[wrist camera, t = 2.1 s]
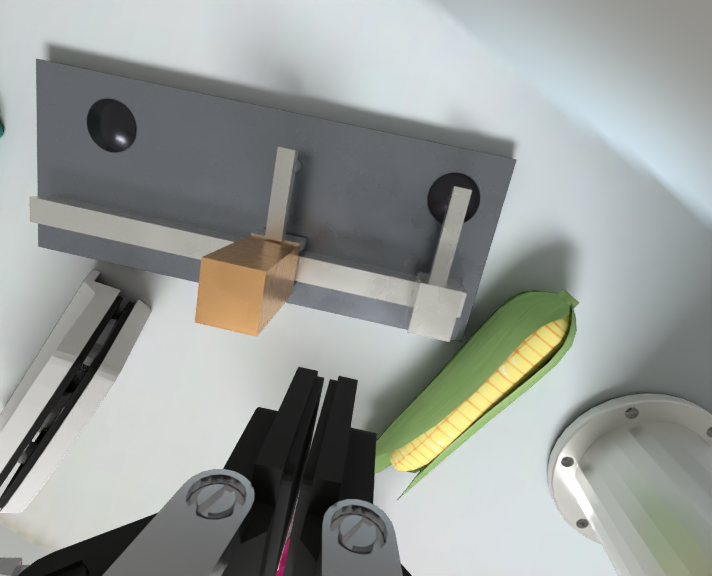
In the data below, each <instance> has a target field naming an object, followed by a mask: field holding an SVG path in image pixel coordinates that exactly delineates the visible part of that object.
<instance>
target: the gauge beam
mask: <svg viewBox="0 0 712 576" xmlns="http://www.w3.org/2000/svg"><path fill="white" fill-rule="evenodd" d="M471 193H472V190H470V189H465V188H461V187H456V186H452V190H451V194H450V195H449V196H448V197H447V202H448V205H447V209H446V213H445V217H444V220H443V224H442V228H441V232H440V236H439V239H438V243H437V247H436V251H435V255H434V258H433V262H432V266H431V270H430V274H428V273H424V272H419V271H418V274H417V276H416V275H412V274H407V273H403V272H398V271H394V270H389V269H384V268H380V267H375V266H371V265H366V264H362V263H357V262H353V261H348V260H344V259H339V258H335V257H330V256H326V255H321V254H317V253H312V252H308V251H303V250H302V251H300V252H299V256H298V262H297V268H296V274H295V280H294V281H298V282H302V283H307V284H311V285H316V286H320V287H325V288H329V289H334V290H338V291H343V292H347V293H352V294H356V295H361V296H365V297H369V298H374V299H378V300H383V301H387V302H392V303H396V304H401V305H405V306H409V309H408V313H407V330H408V333H411V334H416V335H420V336H424V337H429V338H433V339H438V340H442V341H447V342H450V338H451V335H452V331H453V328H454V324H455V321H456V318H457V317H459V318H460V315H461V312H462V309H463V305H464V302H465V298H466V295H467V293H466V291H465V289H464V288H463V286H461V285H460V284H459V283H458V281H457V280H455V279H451V278H448V276H449V272H450V269H451V265H452V262H453V258H454V254H455V251H456V247H457V243H458V240H459V236H460V233H461V229H462V225H463V222H464V218H465V214H466V211H467V207H468V204H469V200H470V196H471ZM30 222H34V223H39V224H43V225H48V226H52V227H57V228H61V229H66V230H70V231H74V232H79V233H83V234H88V235H92V236H97V237H101V238H106V239H110V240H115V241H119V242H124V243H128V244H133V245H137V246H142V247H146V248H150V249H155V250H159V251H164V252H168V253H173V254H177V255H182V256H186V257H191V258H195V259H200V260H201V258H202V257H203V256H205V255H207V254H210V253H212V252H214V251H216V250H218V249H221V248H223V247H225V246H227V245H229V244H232V243H234V242H236V241H238V240H241V239H243V238H244V237H240V236H235V235H231V234H226V233H222V232H217V231H213V230H208V229H204V228H199V227H195V226H190V225H186V224H181V223H176V222H172V221H167V220H163V219H158V218H154V217H149V216H145V215H140V214H136V213H131V212H127V211H122V210H118V209H113V208H109V207H104V206H100V205H95V204H91V203H86V202H82V201H77V200H73V199H68V198H63V197H59V196H54V195H45V196H32V197H30Z"/></svg>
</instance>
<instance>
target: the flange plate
mask: <svg viewBox="0 0 712 576" xmlns="http://www.w3.org/2000/svg"><path fill="white" fill-rule="evenodd" d="M36 85H37V168H38V196H45V195H54V196H59V197H63V198H68V199H73V200H77V201H82V202H86V203H91V204H95V205H100V206H104V207H109V208H113V209H118V210H122V211H127V212H131V213H136V214H140V215H145V216H149V217H154V218H158V219H163V220H167V221H172V222H176V223H181V224H186V225H190V226H195V227H199V228H204V229H208V230H213V231H217V232H222V233H226V234H231V235H235V236H240V237H244V238H245V237H247V236H249V235H251V233H253V232H255V231H257V230H259V229H266V225H267V218H268V211H269V204H270V197H271V190H272V183H273V177H274V170H275V163H276V156H277V149H278V147H282V148H287V149H291V150H296V151H298V158H297V160H299V161H300V163H301V169H300V170H299V171H298V172H295V177H294V183H293V190H292V196H291V202H290V209H289V215H288V221H287V228H286V234H289V235H293V236H298V237H303V238H307V240H306V246H305V248H304V249H303V251H308V252H312V253H317V254H321V255H326V256H330V257H335V258H339V259H344V260H348V261H353V262H357V263H362V264H366V265H371V266H375V267H380V268H384V269H389V270H394V271H398V272H403V273H407V274H412V275H416V276H417V274H418V271H419V272H424V273H428V274H430V270H431V266H432V262H433V258H434V255H435V251H436V247H437V243H438V239H439V236H440V232H441V228H442V224H443V220H444V217H445V213H446V209H447V205H448V202H447V197H448V196H449V195H450V194H451V190H452V186H456V187H461V188H465V189H470V190H472V193H471V196H470V200H469V204H468V207H467V211H466V214H465V218H464V222H463V225H462V229H461V233H460V236H459V240H458V243H457V247H456V251H455V254H454V258H453V262H452V265H451V269H450V272H449V276H448V278H451V279H455V280H457V281H458V283H459V284H460V285H461V286H463V288H464V289H465V291H466V293H467V295H466V298H465V302H464V305H463V309H462V312H461V315H460V318H459V317H457V318H456V321H455V324H454V328H453V331H452V335H451V338H450V339H451V340H455V341H460V342H462V340H463V336H464V333H465V330H466V326H467V323H468V320H469V316H470V313H471V310H472V306H473V303H474V300H475V296H476V293H477V290H478V286H479V283H480V280H481V276H482V273H483V270H484V266H485V263H486V260H487V256H488V253H489V250H490V246H491V243H492V240H493V236H494V233H495V230H496V226H497V223H498V220H499V216H500V213H501V210H502V206H503V203H504V200H505V196H506V193H507V190H508V186H509V183H510V180H511V176H512V173H513V170H514V166H515V163H516V159H511V158H506V157H501V156H497V155H492V154H487V153H482V152H478V151H473V150H468V149H463V148H459V147H454V146H449V145H444V144H440V143H435V142H430V141H425V140H421V139H416V138H411V137H406V136H402V135H397V134H392V133H387V132H383V131H378V130H373V129H368V128H364V127H359V126H354V125H349V124H344V123H340V122H335V121H330V120H325V119H321V118H316V117H311V116H306V115H302V114H297V113H292V112H287V111H283V110H278V109H273V108H268V107H264V106H259V105H254V104H249V103H245V102H240V101H235V100H230V99H226V98H221V97H216V96H211V95H207V94H202V93H197V92H192V91H188V90H183V89H178V88H173V87H169V86H164V85H159V84H154V83H150V82H145V81H140V80H135V79H131V78H126V77H121V76H116V75H112V74H107V73H102V72H97V71H93V70H88V69H83V68H78V67H74V66H69V65H64V64H59V63H55V62H50V61H45V60H40V59H36ZM38 246H39V247H43V248H47V249H52V250H56V251H61V252H65V253H70V254H74V255H78V256H83V257H87V258H92V259H96V260H101V261H105V262H110V263H114V264H118V265H123V266H127V267H132V268H136V269H141V270H145V271H149V272H154V273H158V274H163V275H167V276H172V277H176V278H180V279H185V280H189V281H194V282H198V283H199V277H200V268H201V260H200V259H195V258H191V257H186V256H182V255H177V254H173V253H168V252H164V251H159V250H155V249H150V248H146V247H142V246H137V245H133V244H128V243H124V242H119V241H115V240H110V239H106V238H101V237H97V236H92V235H88V234H83V233H79V232H74V231H70V230H66V229H61V228H57V227H52V226H48V225H43V224H39V223H38ZM286 302H287V303H291V304H296V305H300V306H305V307H309V308H313V309H318V310H322V311H327V312H331V313H336V314H340V315H344V316H349V317H353V318H358V319H362V320H367V321H371V322H375V323H380V324H384V325H389V326H393V327H398V328H402V329H406V330H407V313H408V309H409V306H405V305H401V304H396V303H392V302H387V301H383V300H378V299H374V298H369V297H365V296H361V295H356V294H352V293H347V292H343V291H338V290H334V289H329V288H325V287H320V286H316V285H311V284H307V283H302V282H299V286H298V289H297V290H296V291H295V292H294V294H293V295H292V296H290V297H289V298H288V300H287V301H286Z"/></svg>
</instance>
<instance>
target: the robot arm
mask: <svg viewBox="0 0 712 576" xmlns="http://www.w3.org/2000/svg"><path fill="white" fill-rule="evenodd" d="M317 375H318V371H315V370H311V369H306V368H302V367H298V369H297V371H296V374H295V376H294V378H293V380H292V382H291V384H290V387H289V389H288V391H287V393H286V395H285V398H284V400H283V402H282V404H281V406H280V409H279V411H274V410H270V409H266V408H261V407H258V408H257V409H256V410H255V412H254V414H253V416H252V417H251V419H250V421H249V423H248V425H247V426H246V428H245V430H244V432H243V434H242V436H241V437H240V439H239V441H238V443H237V445H236V446H235V448H234V450H233V452H232V454H231V456H230V457H229V459H228V461H227V463H226V465H225V466H224V468H223V469H213V470H208V471H204V472H201V473H199V474H197V475H195V476H193V477H191V478H190V479H189V480H188V481H187V482H186V483H184V484H183V486H182V487H181V488H180V489H179V490H178V491H177V492H176V493H175V495H174V496H173V497H172V498H171V499H170V500H169V501H168V502H167V504H166V505H165V506H164V507H163V508H162V509H161V510H160V511H159V512H158V513H156V514H154V515H151V516H148V517H146V518H143V519H140V520H138V521H135V522H132V523H130V524H127V525H124V526H122V527H119V528H116V529H114V530H111V531H108V532H106V533H103V534H100V535H98V536H95V537H92V538H90V539H87V540H85V541H82V542H79V543H77V544H74V545H71V546H69V547H66V548H63V549H61V550H58V551H55V552H53V553H51V554H49V555H47V556H45V557H43V558H41V559H38V560H37V561H35V562H34V563H32V564H31V565H22V558H0V576H276V573H277V569H278V566H279V562H280V558H281V555H282V551H283V548H284V544H285V541H286V537H287V533H288V530H289V526H290V523H291V519H292V516H293V512H294V508H295V505H296V501H297V498H298V502H297V507H296V512H295V517H294V522H293V527H292V532H291V537H290V542H289V547H288V552H287V557H286V562H285V567H284V572H283V576H412V575H411V574H410V573H409V572H408V571H407V570H406V569H405V568H404V566H403V565H402V564H401V563H400V557H399V552H398V546H397V541H396V535H395V531H394V528H393V525H392V522H391V521H390V519H389V518H388V517H387V515H386V514H385V513H384V512H383V511H382V510H380V509H379V508H378V507H377V506H375V505H373V493H374V475H375V456H376V433H372V432H368V431H363V430H359V429H354V428H351V421H352V415H353V408H354V402H355V395H356V389H357V382H358V380H356V379H351V378H347V377H342V376H339V377H338V381H336V380H331V379H330V381H329V385H328V389H327V392H326V396H325V399H324V403H323V406H322V410H321V413H320V417H319V420H318V424H317V427H316V431H315V434H314V438H313V442H312V445H311V441H312V436H313V431H314V426H315V422H316V417H317V412H318V407H319V402H320V397H321V392H322V387H323V382H324V378H322V377H318V376H317ZM310 446H311V449H310ZM309 451H310V452H309ZM548 485H549V489H550V493H551V496H552V498H553V500H554V502H555V504H556V507H557V509H558V510H559V512H560V513H561V515H562V516H563V518H564V519H565V521H566V522H567V523H568V524H569V525H570V526H571V527H572V528H573V529H574V530H576V531H577V532H579V533H580V534H582V535H583V536H585V537H586V538H588V539H590V540H592V541H595V542H597V543H600V544H602V546H603V548H604V550H605V552H606V554H607V555H608V557H609V559H610V561H611V563H612V565H613V566H614V568H615V570H616V572H617V574H618V576H712V414H710V413H709V412H707V411H706V410H705V409H703V408H702V407H700V406H699V405H697V404H694V403H692V402H690V401H687V400H685V399H683V398H679V397H674V396H670V395H665V394H649V393H645V394H635V395H627V396H623V397H619V398H616V399H612V400H609V401H607V402H604V403H602V404H600V405H597V406H595V407H593V408H591V409H590V410H588V411H587V412H585V413H584V414H582V415H581V416H579V417H578V418H577V419H576V420H575V421H574V422H573V423H571V424H570V425H569V426H568V427H567V428H566V429H565V431H564V432H563V433H562V435H561V436H560V437H559V439H558V440H557V442H556V444H555V446H554V448H553V450H552V453H551V455H550V459H549V464H548ZM299 491H300V492H299ZM298 494H299V497H298Z"/></svg>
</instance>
